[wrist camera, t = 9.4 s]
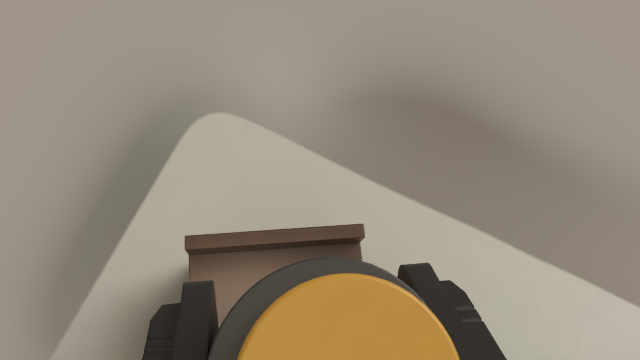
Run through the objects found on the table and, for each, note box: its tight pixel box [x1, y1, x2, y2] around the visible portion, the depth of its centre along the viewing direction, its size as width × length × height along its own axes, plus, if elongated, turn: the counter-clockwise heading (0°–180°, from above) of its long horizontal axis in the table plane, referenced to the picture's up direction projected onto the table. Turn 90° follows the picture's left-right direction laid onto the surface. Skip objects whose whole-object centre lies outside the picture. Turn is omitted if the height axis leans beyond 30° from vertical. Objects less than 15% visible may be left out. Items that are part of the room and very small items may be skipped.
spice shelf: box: [185, 224, 365, 328], centre depth 30 cm, size 12×10×8 cm
